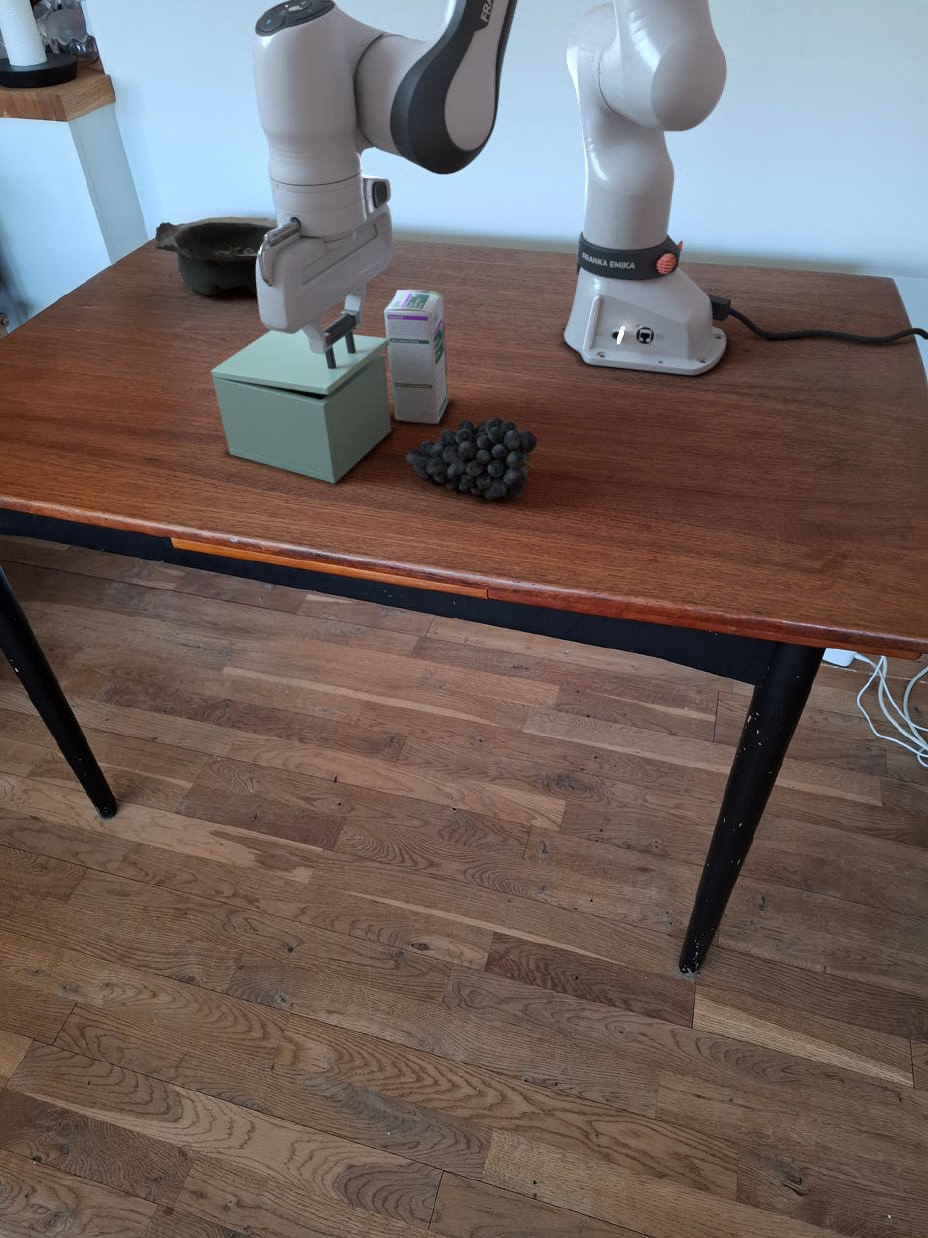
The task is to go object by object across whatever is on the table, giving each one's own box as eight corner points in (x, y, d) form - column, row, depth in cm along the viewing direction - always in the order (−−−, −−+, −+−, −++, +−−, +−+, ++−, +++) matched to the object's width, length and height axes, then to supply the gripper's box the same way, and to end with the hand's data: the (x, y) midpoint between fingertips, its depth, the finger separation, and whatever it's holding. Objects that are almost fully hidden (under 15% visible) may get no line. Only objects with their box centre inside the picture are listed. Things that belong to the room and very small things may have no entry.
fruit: (393, 413, 94) (531, 431, 90) (420, 401, 101) (549, 416, 97) (391, 493, 97) (524, 513, 93) (417, 475, 104) (542, 493, 101)
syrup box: (438, 425, 110) (433, 310, 100) (392, 420, 110) (383, 307, 101) (448, 402, 114) (444, 290, 104) (404, 398, 115) (396, 287, 105)
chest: (391, 430, 109) (385, 354, 102) (334, 483, 100) (323, 405, 94) (291, 405, 114) (279, 331, 107) (229, 454, 105) (212, 377, 99)
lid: (389, 345, 101) (383, 301, 98) (328, 395, 93) (318, 349, 89) (279, 331, 107) (269, 290, 104) (212, 377, 99) (199, 333, 96)
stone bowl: (147, 310, 136) (131, 247, 130) (193, 261, 155) (181, 204, 150) (307, 307, 135) (298, 243, 129) (333, 258, 154) (326, 200, 148)
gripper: (285, 244, 78) (308, 386, 88) (399, 176, 92) (408, 306, 101) (227, 234, 81) (256, 374, 90) (347, 169, 94) (361, 298, 103)
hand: (337, 338), depth 96 cm, fingers closed on lid, 5 cm apart
